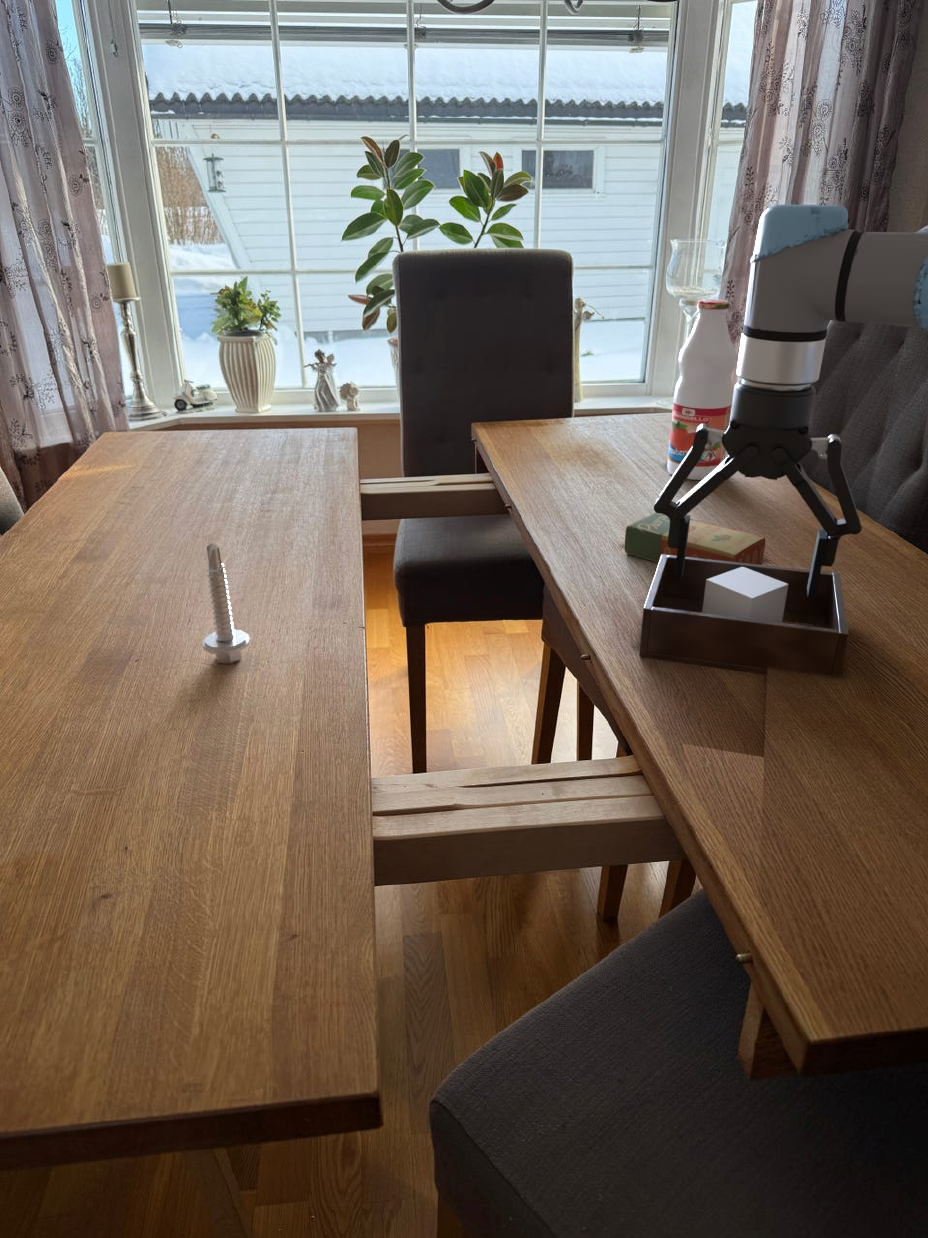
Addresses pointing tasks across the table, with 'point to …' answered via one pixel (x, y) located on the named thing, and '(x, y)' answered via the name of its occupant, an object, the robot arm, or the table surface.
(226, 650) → the screw
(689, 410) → the fruit juice
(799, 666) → the box
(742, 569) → the white cube
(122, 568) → the table surface
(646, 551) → the carton
